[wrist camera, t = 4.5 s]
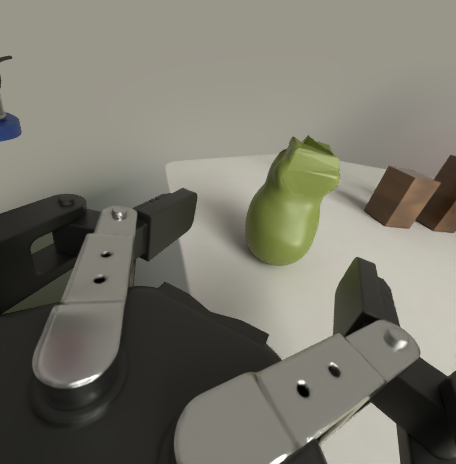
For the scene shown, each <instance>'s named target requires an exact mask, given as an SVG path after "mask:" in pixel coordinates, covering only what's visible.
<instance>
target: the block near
mask: <svg viewBox="0 0 456 464" xmlns="http://www.w3.org/2000/svg"><path fill="white" fill-rule="evenodd" d="M440 184H441V182H439V181H437V180H434V179H432V178H430V177H427V176H425V175H423V174H420V173H418V172H416V171H413V170H409V169H403V168H398V167H393V166H389V167H388V168H387V170H386V172H385V174H384V175H383V177H382V179H381V181H380V183H379V184H378V186H377V188H376V190H375V191H374V193H373V195H372V197H371V198H370V200H369V202H368V204H367V206H366V207H365V209H364V211H365V212H367V213H368V214H369V215H371V216H372V217H373V218H375V219H376V220H377V221H379V222H380V223H382V224H383V225H384V226H390V227H400V228H410V227H411V225H412V224H413V222H414V221H415V220H416V218H417V217H418V215H419V214H420V212H421V211H422V209H423V208H424V207H425V205H426V204H427V202H428V201H429V199H430V198H431V197H432V195H433V194H434V192H435V191H436V189H437V188H438V187H439V185H440Z"/></svg>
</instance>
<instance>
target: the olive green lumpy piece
mask: <svg viewBox="0 0 456 464" xmlns="http://www.w3.org/2000/svg"><path fill="white" fill-rule="evenodd" d="M305 139H306V140H305ZM305 139H304V140H303V142H302V143H301V142H300V141H299V140H298V139H296V138H295V137H292V138H291V140H290V142H289V147H288V148H287V149H285V150H283V151H281V152H280V153H279V155H278V156H277V157H276V158H275V160H274V161H273V163H272V165H271V167H270V170H269V172H268V176H267V179H266V182H265V184H264V185H263V186H262V187H261V188H260V189H259V190H258V192H257V193H256V194H255V196H254V197H253V199H252V201H251V203H250V206H249V209H248V213H247V217H246V225H245V235H246V241H247V244H248V247H249V249H250V250H251V252H252V253H253V254H254V255H255V256H256V257H257V258H258V259H260V260H261V261H263V262H265V263H268V264H271V265H277V266H282V265H288V264H292V263H294V262H296V261H298V260H299V259H301V258H302V257H303V256H304V255H305V254H306V253H307V251H308V250H309V248H310V246H311V244H312V242H313V239H314V237H315V234H316V231H317V227H318V223H319V214H320V204H321V201H322V199H323V197H324V196H325V195H326V194H328V193H329V192H331V191H332V190H333V189H334V188H335V187H336V186H337V184H338V183H339V180H340V173H339V171H340V166H339V158H337V157H335V156H334V154H333V152H332V150H331V148H330V146H329V145H327V144H324V143H321V142H316V141H314V140H313V139H312V138H311V137H309V136H307V137H306V138H305Z"/></svg>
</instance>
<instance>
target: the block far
mask: <svg viewBox="0 0 456 464" xmlns="http://www.w3.org/2000/svg"><path fill="white" fill-rule="evenodd" d="M434 180H437V181H439V182H441V184H440V185H439V187H438V188H437V189H436V191H435V192H434V194H433V195H432V197H431V198H430V199H429V201H428V202H427V204H426V205H425V207H424V208H423V209H422V211H421V212H420V214H419V215H418V217H417V218H416V220H417V221H418V222H420V223H422V224H423V225H425V226H426V227H428V228H430V229H431V230H433V231H441V232H451V233H454V232H455V231H456V156H454V155H450V156H449V158H448V159H447V161H446V162H445V164H444V165H443V167H442V169H441V170H440V171H439V173H438V174H437V176H436V177H435V179H434Z"/></svg>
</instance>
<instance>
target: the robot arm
mask: <svg viewBox="0 0 456 464" xmlns="http://www.w3.org/2000/svg"><path fill="white" fill-rule="evenodd" d="M8 59H12V57H11V56H5V57H1V58H0V62H2V61H4V60H8ZM0 88H1V77H0ZM6 119H7V118H6V113H5V111H4V109H3V104H2V100H1V96H0V122H3V121H5V120H6ZM196 203H197V194H196V193H194V192H192V191H189V190H187V189H184V188H182V189H180V190H178V191H176V192H174V193H169V194H162V195H160V196H158V197H155V199H151V200H149V201H147V202H145V203H143V204H140V205H138V206H137V207H134V208H130V207H126V206H110V207H107V208H105V209H103V210H102V211H101V212H99V211H94V210H90V209H87V208H86V200H85V199H84V198H83V197H81V196H78V195H74V194H60V195H55V196H52V197H49V198H46V199H43V200H40V201H37V202H34V203H31V204H28V205H25V206H22V207H19V208H16V209H13V210H10V211H7V212H4V213H1V214H0V464H327V462H326V459H325V457H324V454H323V452H322V450H321V447H320V445H321V444H322V443H323V442H325V441H326V440H327V439H328V438H329V437H330V436H331V435H332V434H334V433H335V432H336V431H337V430H338V429H339V428H341V427H342V426H343V425H344V424H346V423H347V422H348V421H349V420H350V419H352V418H353V417H354V416H355V415H357V414H358V413H359V412H360V411H362V410H363V409H364V408H365V407H366V406H368V405H369V404H370V403H372V404H374V405H375V406H376V407H377V408H378V409H380V410H381V411H382V412H383V413H384V414H386V415H387V416H388V417H389V418H390V419H392V420H393V421H394V422H395V423H396V426H397V435H398V444H399V454H400V463H401V464H456V371H454V372H453V373H452V374H451V375H449V376H446V375H445V374H443V373H442V372H440V371H439V370H437V369H436V368H434V367H433V366H431V365H430V364H429V363H427V362H426V361H424V360H423V359H422V358H420V349H419V346H418V344H417V343H416V341H415V340H414V339H413V338H412V337H411V335H410V334H408V333H407V332H406V331H405V330H404V329H402V328H401V327H400V324H399V320H398V316H397V312H396V309H395V306H394V301H393V299H392V298H393V297H392V293H391V289H390V287H389V286H388V285H387V283H386V282H385V281H384V279H382V278H379V277H378V276H377V271H376V266H375V264H374V263H372V262H369V261H366V260H364V259H361V258H359V257H356V258H355V259H354V260H353V261H352V263H351V265H350V266H349V268H348V270H347V271H346V273H345V274H344V276H343V278H342V279H341V281H340V283H339V285H338V287H337V289H336V293H335V305H334V325H333V336H331V337H329V338H327V339H325V340H323V341H321V342H319V343H317V344H315V345H312V346H310V347H308V348H306V349H304V350H302V351H300V352H298V353H296V354H294V355H292V356H290V357H288V358H286V359H284V360H281V358H280V357H279V356H278V355H277V354H276V353H275V352H274V351H273V350H272V349H271V348H270V347H269V346H268V345H267V344H266V342H267V339H268V336H269V334H267V333H265V332H263V331H261V330H259V329H257V328H255V327H253V326H251V325H249V324H247V323H245V322H243V321H241V320H238V319H234V318H231V317H227V316H223V315H220V314H216V313H213V312H210V311H209V310H207V309H206V308H205V307H204V306H203V305H201V304H200V303H199V302H198V301H197V300H195V299H194V298H193V297H192V296H191V295H189V294H188V293H186V292H184V291H182V290H180V289H178V288H176V287H174V286H172V285H170V284H168V283H166V282H164V283H163V284H162V285H161V286H160V287H159V288H154V287H147V286H134V287H133V285H134V274H135V262H136V259H137V258H138V257H140V258H142V259H144V260H146V261H150V260H151V259H152V258H154V257H155V256H156V255H157V254H158V253H160V252H161V251H163V250H164V249H165V248H166V247H168V246H169V245H170V244H172V243H173V242H174V241H175V240H177V239H178V238H179V237H181V236H182V235H183V234H184V233H186V232H187V231H188V230H189V229H190V228H191V226H192V224H193V220H194V215H195V209H196ZM50 232H52V234H53V240H54V243H53V244H51V245H49V246H47V247H45V248H43V249H41V250H40V251H38V252H36V253H34V254H32V255H31V251H30V248H31V245H32V243H33V242H34V241H35V240H36V239H37V238H39V237H41V236H43V235H45V234H48V233H50ZM73 267H74V269H73V271H72V273H71V276H70V279H69V281H68V284H67V286H66V289H65V291H64V294H63V297H62V299H61V301H60V302H57V303H53V304H48V305H43V306H39V307H34V308H30V309H25V310H21V311H16V312H11V313H6V314H2V313H4V312H5V311H7V310H8V309H10V308H11V307H13V306H14V305H16V304H18V303H19V302H21V301H22V300H24V299H25V298H27V297H28V296H30V295H32V294H33V293H35V292H36V291H38V290H39V289H41V288H42V287H44V286H45V285H47V284H48V283H50V282H52V281H53V280H55V279H56V278H58V277H59V276H61V275H62V274H64V273H66V272H67V271H69V270H70V269H72V268H73ZM1 314H2V315H1Z"/></svg>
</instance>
